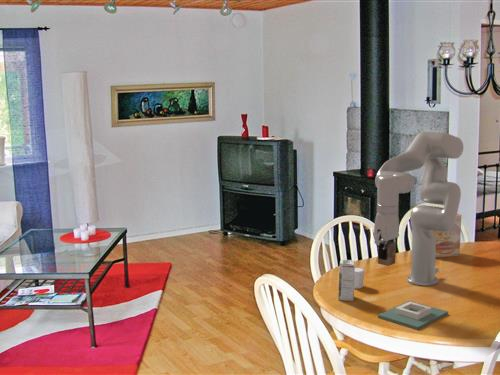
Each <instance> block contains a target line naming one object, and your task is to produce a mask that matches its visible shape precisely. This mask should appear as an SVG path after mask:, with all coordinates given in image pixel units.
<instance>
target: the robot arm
mask: <svg viewBox="0 0 500 375" xmlns="http://www.w3.org/2000/svg"><path fill="white" fill-rule="evenodd" d="M463 152H464V142H463V141H462V139H461V138H460V137H458V136H455V135H453V134H450V133H447V132H437V131H422V132H419V133H418V134H417V135H416V136H415V137H414V138H413V140H412V141H411V143H410V144H409V145H408V147H407V148H406V149H405V152H402V153H399V154H398V155H396V156H394V157H391V158H390V159H389V158H388V160H386V161H385V162H384V163H383V164H382V165H381V167H380V168H379V169H378V171H377V173H376V175H375V179H374V184H375V187H376V188H377V200H376V201H377V203H376V204H377V205H376V209H377V210H376V215H375V219H374V227H373V239H374V244H375V245H376V246H377V249H378V248H379V256H378V255H377V259H378V258H379V259H383V260H386V259H387V249H386V244H387V241H392V242H396V243H397V241H398V238H399V237H400V218H399V202H400V201H399V199H400V198H399V194H406V193H410V192H411V191H412V190H413V189H414V187H415V183H416V181H415V178H414V176H413V175H412V174H410V173H407V172H410V171H411V172H412V171H414V170H419V169H421V168H422V167H423V166H424V168H425V169H424V174H423V178H422V182H421V188H420V192H419V197H420V200H421V201H422V202H424V203H425V204H423V205H422V204H421V205H419V204H418V205H416V206H414V207H413V208H412V209H411V210H410V223H411V224H410V226H411V232H412V233H411V234H412V235H411V240H412V241H411V262H410V264H411V265H410V274H409V275H407V277H406V281H407V282H408V283H410V284H412V285H415V286H422V287H424V286H427V287H429V286H435V285H437V284H438V283H439V277H437V276H436V275H437V273H439V272H440V269H439V268H437V267H436V258H437V257H436V238H435V235H434V233H433V231H440V232H450V231H451V230H452V229H453V227H454V224H455V221H456V216H457V213H458V210H459V208H460V203H461V197H462V196H461V195H462V191H461V187H460V185H459V184H458V183H456V182H453V181H451V182H450V181H445V180H446V177H447V168H446V164H445V163H444V161H443V160H442V159H450V160H451V159H453V160H454V159H455V160H457V159H459V158H460V157H461V156H462V155H463ZM426 204H431V205H426ZM433 205H439V206H440V205H441V206H444V207H439V206H433ZM432 230H433V231H432ZM381 242H384V243H383V244H382V243H381Z"/></svg>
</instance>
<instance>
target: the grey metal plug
mask: <svg viewBox="0 0 500 375" xmlns="http://www.w3.org/2000/svg"><path fill="white" fill-rule="evenodd" d="M381 243H382V244H383V243H384V242H381ZM396 245H397V241H396V242H392V241H387V244H386V249H387V259H386V260H383V259H379V258H378V256H379V248H378V247H377V264H379V265H382V266H387V267H389V266H392V265H394V264H396V251H397V250H396V249H397V248H396Z"/></svg>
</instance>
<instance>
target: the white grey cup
mask: <svg viewBox="0 0 500 375" xmlns="http://www.w3.org/2000/svg"><path fill="white" fill-rule="evenodd" d="M365 271H366V270H365V269H364V268H362V267H356V266H355V277H354V289H361V288H363V287H364V280H365Z"/></svg>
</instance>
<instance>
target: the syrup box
mask: <svg viewBox="0 0 500 375" xmlns="http://www.w3.org/2000/svg"><path fill="white" fill-rule="evenodd" d="M355 267H356V260H352V259H340V261H339V270H338V272H339V273H338V298H337V299H338V301H349V302H353V301H354V296H355V288H354V277H355Z"/></svg>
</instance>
